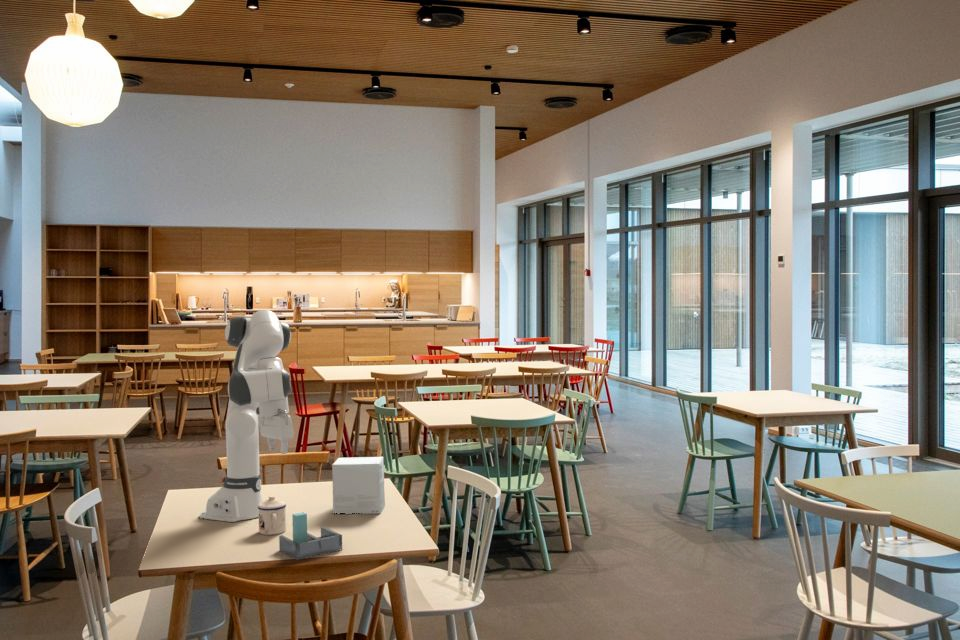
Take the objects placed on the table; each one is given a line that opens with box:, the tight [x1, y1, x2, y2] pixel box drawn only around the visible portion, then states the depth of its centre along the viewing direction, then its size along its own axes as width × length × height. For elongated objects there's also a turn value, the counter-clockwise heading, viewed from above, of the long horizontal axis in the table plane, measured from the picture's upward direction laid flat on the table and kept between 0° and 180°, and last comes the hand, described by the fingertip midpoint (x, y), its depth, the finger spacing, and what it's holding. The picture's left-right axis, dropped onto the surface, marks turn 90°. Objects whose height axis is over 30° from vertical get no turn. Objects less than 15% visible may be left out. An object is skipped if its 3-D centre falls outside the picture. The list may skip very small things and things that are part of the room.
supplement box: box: [331, 456, 386, 515], centre depth 295 cm, size 17×13×18 cm
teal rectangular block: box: [291, 511, 308, 544], centre depth 247 cm, size 2×4×10 cm
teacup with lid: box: [258, 495, 287, 536], centre depth 268 cm, size 12×9×12 cm
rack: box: [278, 526, 343, 561], centre depth 249 cm, size 12×15×4 cm
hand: (278, 452), depth 256 cm, fingers open, 8 cm apart
